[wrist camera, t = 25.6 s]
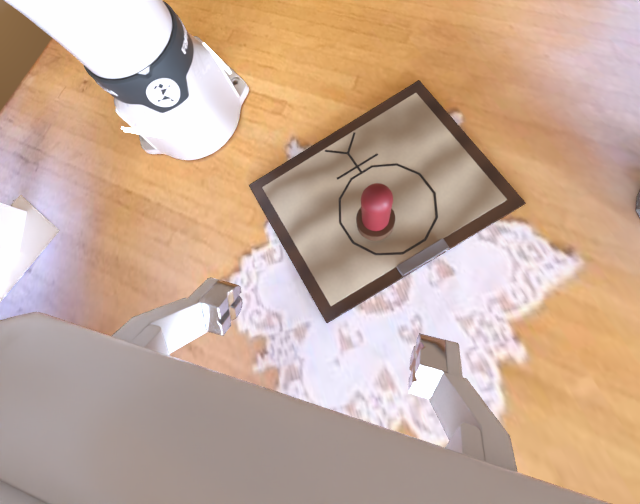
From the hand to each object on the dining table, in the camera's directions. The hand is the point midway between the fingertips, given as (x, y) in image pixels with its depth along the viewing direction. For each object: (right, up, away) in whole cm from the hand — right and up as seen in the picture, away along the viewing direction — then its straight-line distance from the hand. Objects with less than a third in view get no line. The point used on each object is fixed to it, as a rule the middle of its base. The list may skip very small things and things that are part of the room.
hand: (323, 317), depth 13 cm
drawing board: (+7, +10, +26) cm, 29 cm away
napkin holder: (-49, +3, +34) cm, 60 cm away
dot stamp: (+7, +6, +25) cm, 27 cm away
